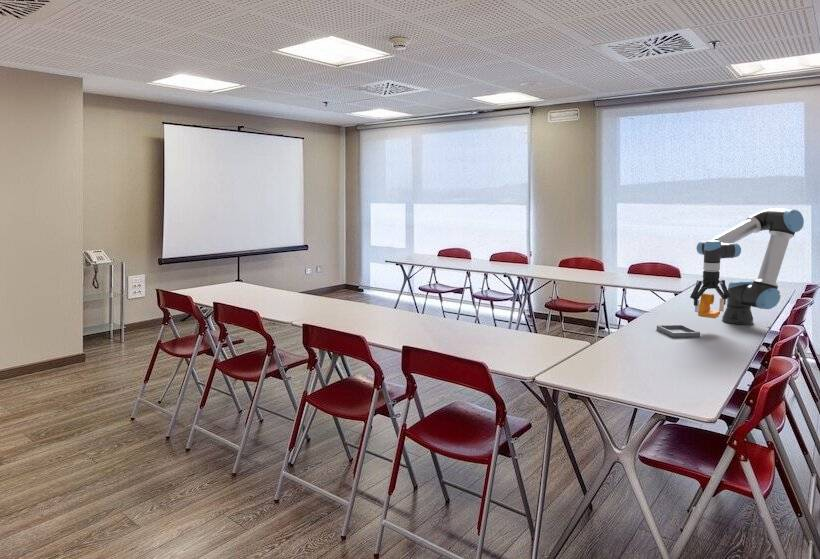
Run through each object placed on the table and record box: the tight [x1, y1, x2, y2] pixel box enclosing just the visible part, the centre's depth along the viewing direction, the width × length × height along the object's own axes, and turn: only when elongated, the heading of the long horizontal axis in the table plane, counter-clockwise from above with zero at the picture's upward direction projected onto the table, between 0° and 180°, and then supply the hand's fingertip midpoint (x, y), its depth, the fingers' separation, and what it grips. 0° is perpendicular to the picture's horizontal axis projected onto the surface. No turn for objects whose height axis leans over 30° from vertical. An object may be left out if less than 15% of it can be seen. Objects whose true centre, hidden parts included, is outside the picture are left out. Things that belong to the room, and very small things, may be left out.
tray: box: [656, 324, 701, 339], centre depth 292 cm, size 14×17×2 cm
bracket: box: [697, 292, 721, 319], centre depth 294 cm, size 11×7×12 cm
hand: (709, 311), depth 295 cm, fingers closed on bracket, 12 cm apart
